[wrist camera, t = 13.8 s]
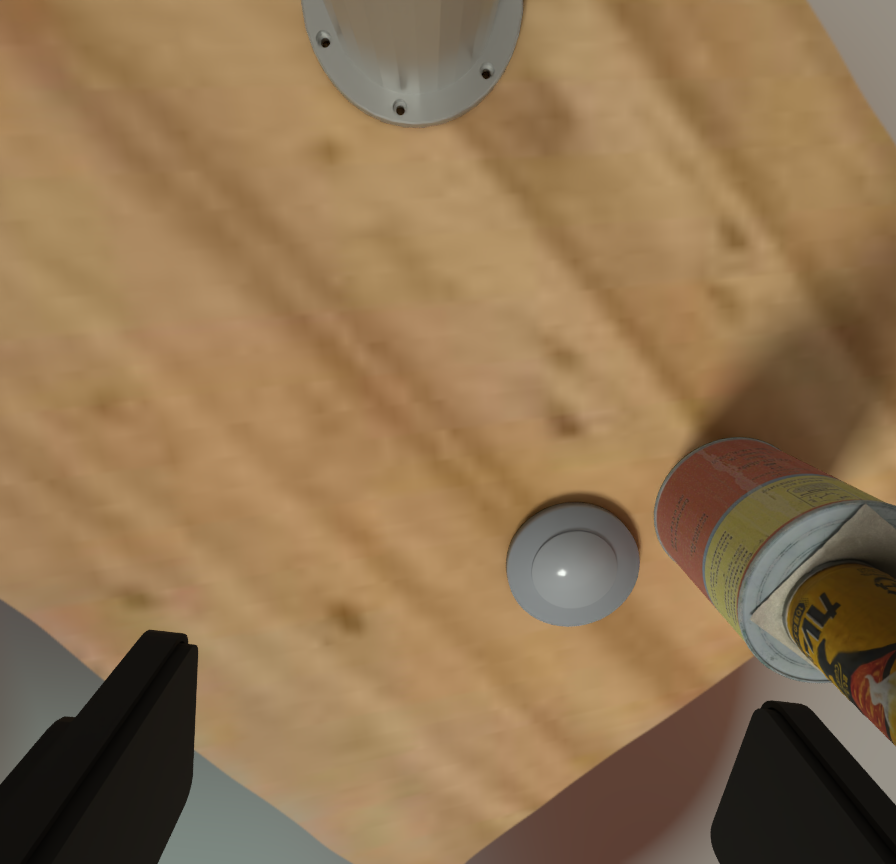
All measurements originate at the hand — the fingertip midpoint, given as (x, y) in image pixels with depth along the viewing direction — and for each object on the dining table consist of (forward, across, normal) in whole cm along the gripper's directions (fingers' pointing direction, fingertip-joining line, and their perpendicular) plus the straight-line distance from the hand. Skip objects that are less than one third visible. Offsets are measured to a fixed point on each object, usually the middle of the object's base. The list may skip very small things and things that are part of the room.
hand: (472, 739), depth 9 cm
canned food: (+31, -23, +6) cm, 39 cm away
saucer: (+30, -12, +12) cm, 35 cm away
